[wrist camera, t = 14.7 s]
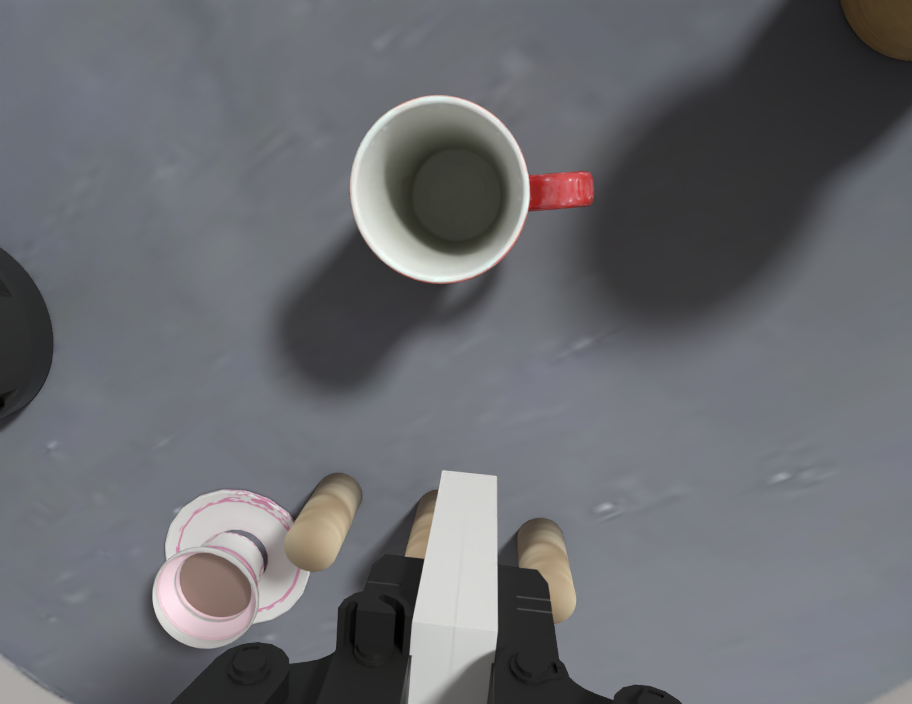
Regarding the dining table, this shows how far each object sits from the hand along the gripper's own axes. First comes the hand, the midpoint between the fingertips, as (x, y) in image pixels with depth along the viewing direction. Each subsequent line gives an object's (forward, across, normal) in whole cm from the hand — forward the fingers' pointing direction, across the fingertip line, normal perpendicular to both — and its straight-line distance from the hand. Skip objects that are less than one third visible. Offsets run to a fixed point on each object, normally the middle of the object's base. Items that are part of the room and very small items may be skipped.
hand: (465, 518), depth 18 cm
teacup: (+30, -18, -21) cm, 41 cm away
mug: (+30, -1, +9) cm, 31 cm away
